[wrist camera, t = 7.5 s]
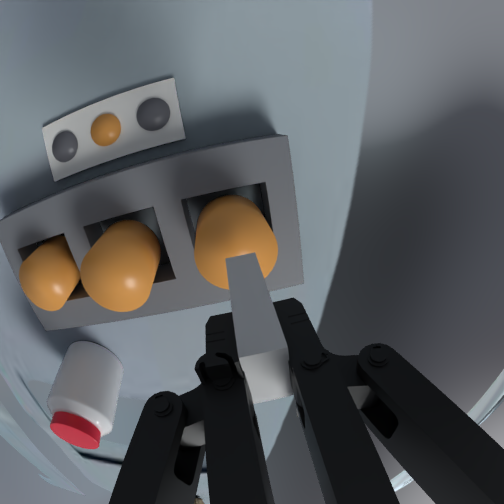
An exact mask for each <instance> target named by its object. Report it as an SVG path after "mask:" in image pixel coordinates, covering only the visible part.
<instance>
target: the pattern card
mask: <svg viewBox="0 0 504 504" xmlns="http://www.w3.org/2000/svg"><path fill="white" fill-rule="evenodd" d="M42 130H43V136H44V141H45V145H46V150H47V154H48V159H49V163H50V167H51V171H52V175H53V178H54V182H55V181H58V180H60V179H62V178H65V177H67V176H70V175H72V174H75V173H77V172H80V171H82V170H85V169H87V168H90V167H93V166H96V165H98V164H101V163H104V162H107V161H110V160H113V159H116V158H119V157H122V156H125V155H128V154H131V153H134V152H138V151H141V150H144V149H148V148H151V147H155V146H159V145H162V144H166V143H170V142H174V141H178V140H182V139H186V137H185V132H184V127H183V122H182V117H181V112H180V106H179V101H178V96H177V90H176V85H175V79H174V78H170V79H166V80H163V81H159V82H155V83H152V84H149V85H145V86H142V87H139V88H136V89H132V90H129V91H126V92H124V93H121V94H118V95H115V96H112V97H110V98H107V99H104V100H102V101H99V102H97V103H94V104H92V105H89V106H87V107H85V108H82V109H80V110H78V111H76V112H73V113H71V114H69V115H67V116H65V117H63V118H61V119H59V120H57V121H55V122H53V123H51V124H49V125H47V126H45V127H43V128H42Z"/></svg>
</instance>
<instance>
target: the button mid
mask: <svg viewBox="0 0 504 504" xmlns="http://www.w3.org/2000/svg"><path fill="white" fill-rule="evenodd" d="M160 258H161V247H160V243H159V240H158V238H157V237H156V235H155V234H154V232H153V231H152V230H151V229H150V228H149V227H148V226H146V225H145V224H143V223H141V222H138V221H135V220H121V221H118V222H115V223H113V224H112V225H111V226H109V228H108V229H107V230H106V231H105V232H104V233H103V234H102V236H101V237H100V238H99V239H98V240H97V242H96V243H95V244H94V245H93V246H92V248H91V249H90V250H89V251H88V253H87V254H86V255H85V257H84V258H83V260H82V263H81V268H80V276H81V281H82V284H83V286H84V288H85V290H86V292H87V293H88V295H89V296H90V297H91V298H92V299H93V300H94V301H95V302H96V303H98V304H99V305H101V306H102V307H104V308H106V309H109V310H112V311H117V312H128V311H133V310H135V309H137V308H139V307H141V306H142V305H143V304H144V303H145V302H146V301H147V299H148V297H149V295H150V292H151V288H152V285H153V281H154V278H155V275H156V271H157V268H158V265H159V261H160Z"/></svg>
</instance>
